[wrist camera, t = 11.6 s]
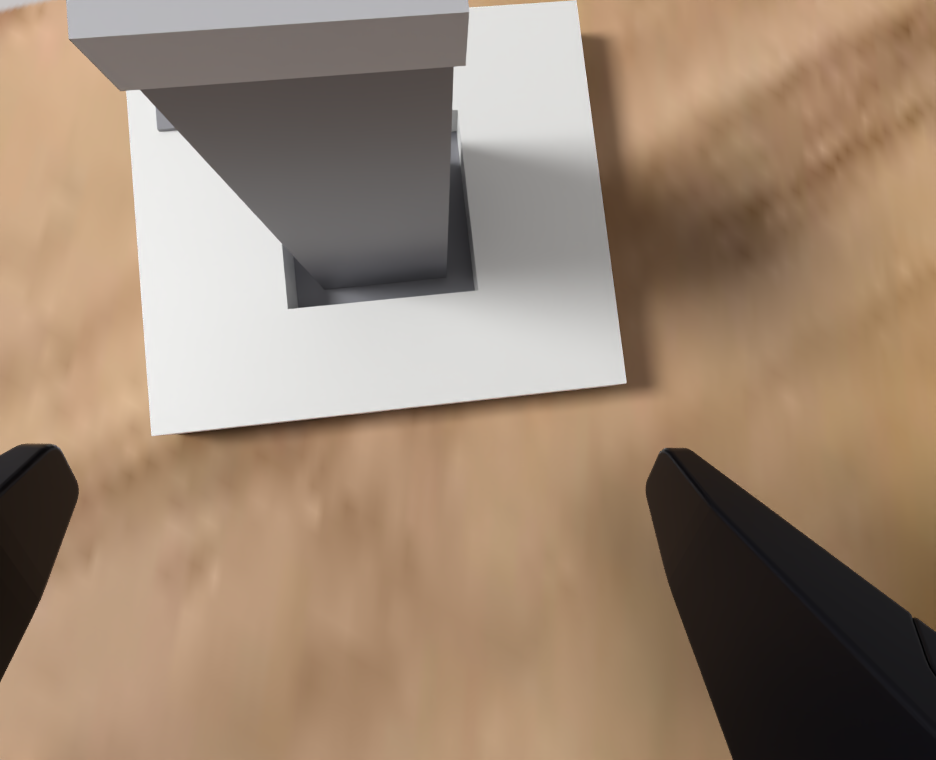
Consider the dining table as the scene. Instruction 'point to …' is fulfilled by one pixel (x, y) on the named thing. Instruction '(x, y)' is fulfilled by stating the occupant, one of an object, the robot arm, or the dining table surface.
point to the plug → (306, 115)
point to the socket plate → (403, 303)
